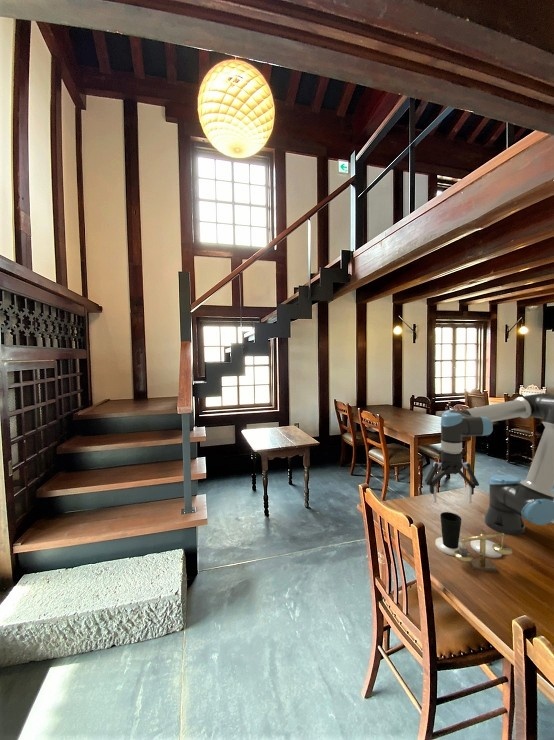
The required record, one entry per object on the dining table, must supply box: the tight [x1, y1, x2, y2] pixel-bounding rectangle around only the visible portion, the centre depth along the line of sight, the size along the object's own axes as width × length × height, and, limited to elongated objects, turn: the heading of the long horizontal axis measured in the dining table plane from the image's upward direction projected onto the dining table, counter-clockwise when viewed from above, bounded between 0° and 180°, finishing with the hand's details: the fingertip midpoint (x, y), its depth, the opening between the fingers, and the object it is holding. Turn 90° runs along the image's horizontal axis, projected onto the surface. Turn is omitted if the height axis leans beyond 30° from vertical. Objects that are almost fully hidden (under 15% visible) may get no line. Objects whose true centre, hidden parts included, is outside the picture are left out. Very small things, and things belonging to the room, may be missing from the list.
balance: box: [454, 532, 513, 573], centre depth 119 cm, size 20×6×14 cm, turn 83°
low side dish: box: [435, 536, 467, 557], centre depth 131 cm, size 11×11×1 cm
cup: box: [439, 511, 463, 549], centre depth 130 cm, size 8×8×12 cm
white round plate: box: [470, 539, 503, 559], centre depth 129 cm, size 11×11×1 cm
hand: (451, 501), depth 130 cm, fingers open, 13 cm apart
